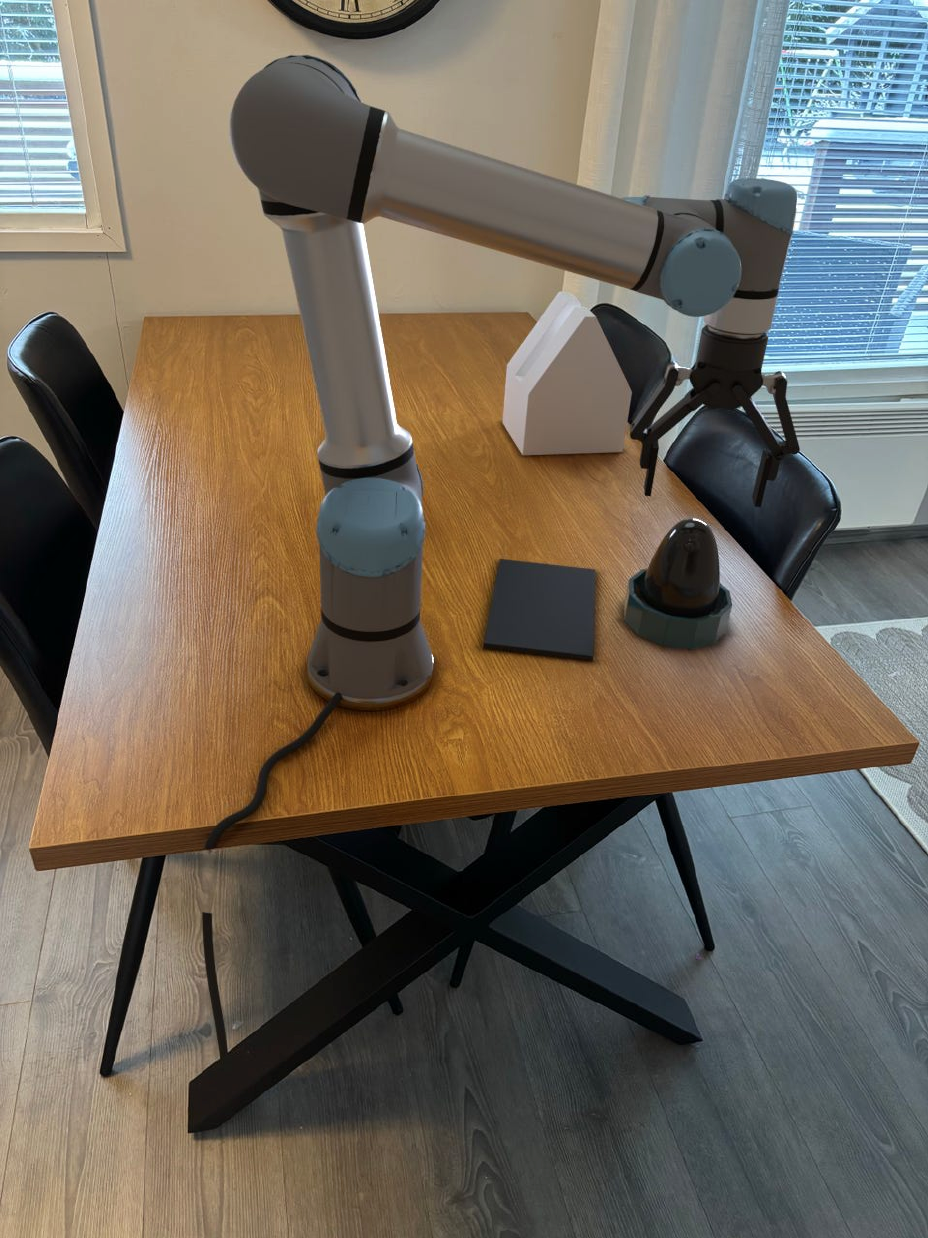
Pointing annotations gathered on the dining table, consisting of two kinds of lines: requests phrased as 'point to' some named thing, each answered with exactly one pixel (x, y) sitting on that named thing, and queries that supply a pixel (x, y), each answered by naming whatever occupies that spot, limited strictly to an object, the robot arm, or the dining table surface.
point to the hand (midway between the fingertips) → (701, 497)
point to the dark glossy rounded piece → (684, 572)
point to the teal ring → (674, 620)
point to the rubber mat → (542, 610)
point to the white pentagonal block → (566, 386)
